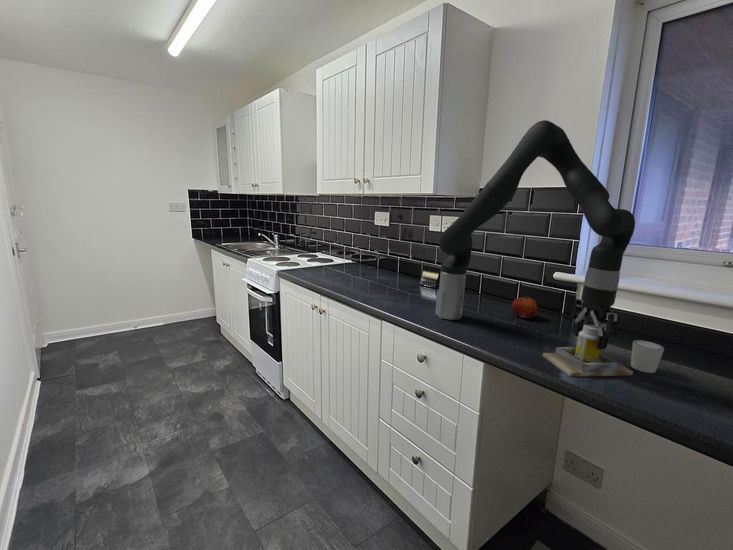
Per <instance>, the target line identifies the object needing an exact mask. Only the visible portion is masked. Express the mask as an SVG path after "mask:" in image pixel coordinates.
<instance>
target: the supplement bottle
mask: <svg viewBox="0 0 733 550" xmlns="http://www.w3.org/2000/svg"><path fill="white" fill-rule="evenodd" d="M598 335H599V331H598V329H597V328H596V327H595V324H594V325H593V324H585V325H584V326H583V331H580V332H579V334H578V337H577V341H576V346H575V347H576V351H575V358H577V359H579V360H580V361H582V362H583V363H598V358H599V353H600V352H601V350H599V349H597V348H596V345H597V340H598Z"/></svg>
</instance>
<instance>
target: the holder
mask: <svg viewBox="0 0 733 550" xmlns="http://www.w3.org/2000/svg"><path fill="white" fill-rule="evenodd" d="M575 351H576V346H559V347H558V346H557V347H555V352H542V357H543V358H544V359H546V360H547V361H548V362H550V363H551V364H553V365H554V366H555V367H556V368H558V369H559V370H560V371H562V372H563V373H564V374H566V375H567V376H569V377H609V376H611V377H612V376H617V377H618V376H620V377H621V376H633V375H634V371H633V370H630V369H629V368H627V367H625V366H624V365H623V364H621V362H618V361H617V360H614V359H613V358H611V357H610V356H608V355H606V354H604V353H603V352H601V351H600V353H599V358H598V363H583V362H582V361H580V360H579V359H577V358H575Z"/></svg>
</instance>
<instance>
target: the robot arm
mask: <svg viewBox="0 0 733 550" xmlns="http://www.w3.org/2000/svg"><path fill="white" fill-rule="evenodd" d="M537 158H542V159H545V160H546V161H547V162H548V163H550V164H551V166H553V167H554V168H555V170H556V171H557V172H558V173H559V175H560V177H561V178H562V180H563V183H564V185H565V188H566V189H567V191H568V193H569V194H570V195H571V197H572V198H573V199H574V201H575V202H576V203H577V204H578V206H579V207H580V208H581V209H582V213H583V215H584V218H585V220H586V223H587V224H588V226H589V228H590V229H591V230H592V231H593V232H594V233H595V234H596V235H599V236H601V239H600V242H599V243H598V244H597V245H596V246H593V248H592V249H591V251H590V255H589V262H588V268H587V270H586V273H585V276H584V281H583V287H582V293H581V299H579V298H578V299H577V298H575V299H574V302H573V306H572V311H571V315H570V318H571V319H572V320H574V323H575V325H574V332H573V333H574V336H575V337H577V338H578V334H579V332H580V331H583V326H584V325H586V323H587V321H590V322H591V323H592V324H594V326H595V327H596V328H597V329H598V331H599V335H598V340H597V345H596V348H597V349H599V350H600V351H601V350H606V349H607V347H608V343H609V339H610V337H611V338H613V337H614V338H615V337H617V336H618V334H619V333H618V332H619V326H620V320H621V315H620V314H619V313H613V312H611V307H612V306H614V305H615V302H616V296H617V292H618V289H619V283H620V275H621V273H620V272H621V268H622V263H623V258H624V254H625V252H626V250H627V249H628V248H627V247H628V246H629V244H630V242H631V239H632V237H633V234H634V231H635V229H636V227H635V225H636V219H635V216H634V214H633V212H631V211H630V210H627V209H624V208H615V207H613V205H612V204H611V203H610V201H609V200H610V193H609V191H608V190H607V188H606V187H605V186H604V185H603V183H601V181H600V180H599V179H598V177H597V176H595V175H594V173H593V172H592V171H591V170H590V169H589V167H588V166H587V165H586V164H585V163H584V162H583V161H582V159H581V158H580V156H579V155H578V154H577V152H576V150H575V149H574V147H573V145H572V143H571V141H570V139H569V138H568V135H567V134H566V131H565V130H564V129H563V128H562V127H561V126H559V125H557V124H555V123H554V122H552V121H549V120H547V119H546V120H545V119H544V120H543V119H542V120H540V121H537V122H536V123H534V124H533V125H531V126H530V128H529V129H528V130H527V131H526V132H525V133H524V135H523V136H522V138H521V139H520V140H519V142H518V143H517V145H516V147H515V148H514V149H513V151H512V152H511V154H510V155H509V156H508V157H507V159H506V160H505V162H504V163H503V164H502V165H501V166H500V167H499V169H497V171H496V172H495V174H494V175H493V176H492V177H491V178H490V179H489V181H487V183H486V184H485V185H484V186H483V188H482V189H481V190H480V191H479V192H478V193H477V195H476V196H475V198H473V200H472V201H471V202H470V203H469V205H468V206H467V207H466V209H465V210H464V211H463V212H462V213H461V214H460V216H458V218H456V220H454V222H452V224H450V226H448V227H447V228H445V230H444V231H443V232H442V233H441V235H440V238H439V241H438V244H439V245H438V246H439V248H440V250H441V252H443V253H444V254H446V255H447V257H446V259H445V260H444V261H443V262H442V263H441V265H440V276H439V284H438V285H439V287H438V289H437V290H436V299H435V300H436V301H435V310H434V312H435V313H434V314H435V315H436V316H437V317H438V318H439V319H442V320H443V319H444V320H448V321H449V320H450V321H451V320H452V321H453V320H454V321H456V320H460V319H462V316H463V307H464V297H465V287H466V279H467V278H466V277H467V270H468V268H469V266H470V263H471V262H470V261H471V256H472V250H473V237H472V234H473V233H474V232H475V231H476V230H477V229H478V228H480V227H481V226H482V225H483V224H484V225H485V223H487V221H489V220H491V219H493V217H495V216H496V215H498V214H499V213H500V212H501V211H502V210H504V208H505V207H506V206H507V205H508V203H510V201H511V200H512V199H513V198H514V196H515V194H516V192H517V190H518V187H519V184H520V182H521V180H522V177H523V175H524V173H525V172H526V171H527V169H528V168H529V167H531V164H533V162H534V161H535V160H536V159H537Z"/></svg>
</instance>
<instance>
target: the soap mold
mask: <svg viewBox="0 0 733 550" xmlns="http://www.w3.org/2000/svg"><path fill="white" fill-rule="evenodd" d="M530 550H552V548H550V547H549V546H547V545H546V544H544V542H541V540H539V539H537V540H536V542H534V544H533V545H532V547H531V548H530Z"/></svg>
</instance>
